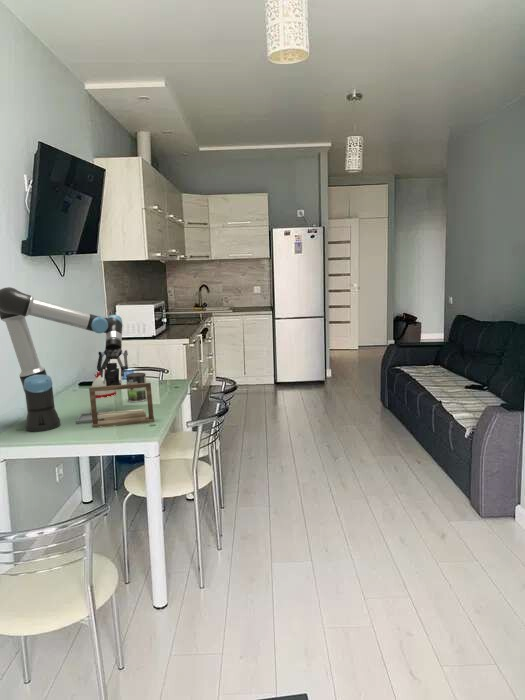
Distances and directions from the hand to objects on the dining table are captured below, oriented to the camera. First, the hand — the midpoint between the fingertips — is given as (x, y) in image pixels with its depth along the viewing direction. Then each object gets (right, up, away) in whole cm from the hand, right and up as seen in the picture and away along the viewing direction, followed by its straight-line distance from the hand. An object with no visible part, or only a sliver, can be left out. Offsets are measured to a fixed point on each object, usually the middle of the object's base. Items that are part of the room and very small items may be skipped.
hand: (111, 381), depth 253 cm
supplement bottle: (0, -4, +4) cm, 6 cm away
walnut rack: (+6, -19, -4) cm, 20 cm away
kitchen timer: (-21, -11, +58) cm, 63 cm away
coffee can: (+3, -12, +41) cm, 43 cm away
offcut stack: (+6, -18, -4) cm, 19 cm away
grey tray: (-11, -18, +6) cm, 22 cm away
